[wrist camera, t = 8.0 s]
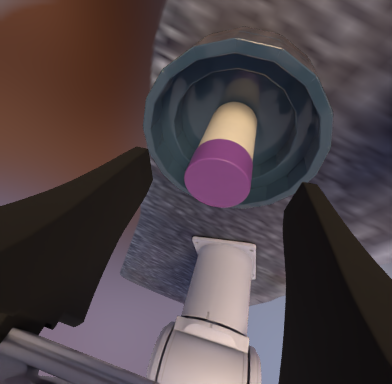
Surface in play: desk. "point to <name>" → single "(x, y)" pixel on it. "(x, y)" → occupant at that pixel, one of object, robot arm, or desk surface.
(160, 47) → the desk surface
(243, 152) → the glue stick
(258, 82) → the dish
